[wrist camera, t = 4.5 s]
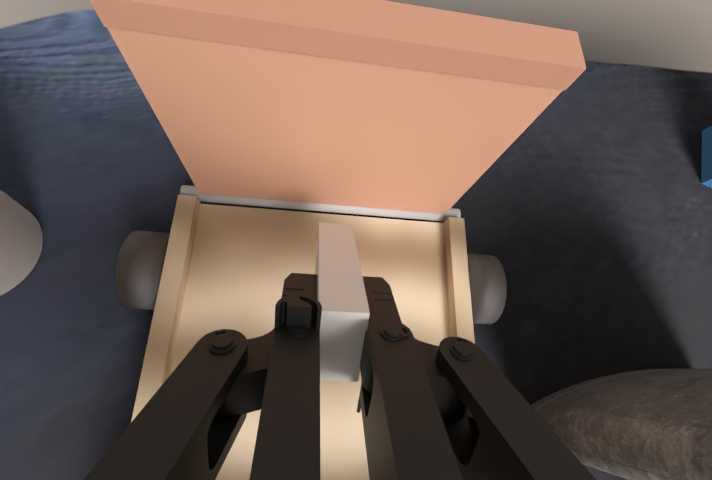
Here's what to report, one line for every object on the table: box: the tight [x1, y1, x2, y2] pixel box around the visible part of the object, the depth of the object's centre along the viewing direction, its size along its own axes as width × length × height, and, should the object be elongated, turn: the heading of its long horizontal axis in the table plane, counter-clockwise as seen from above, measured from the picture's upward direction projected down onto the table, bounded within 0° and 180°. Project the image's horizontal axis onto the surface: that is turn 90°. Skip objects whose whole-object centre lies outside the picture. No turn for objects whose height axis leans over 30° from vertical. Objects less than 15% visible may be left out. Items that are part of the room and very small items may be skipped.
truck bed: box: [115, 195, 507, 480], centre depth 18 cm, size 24×21×8 cm
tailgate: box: [90, 0, 586, 221], centre depth 17 cm, size 2×17×13 cm, turn 89°
